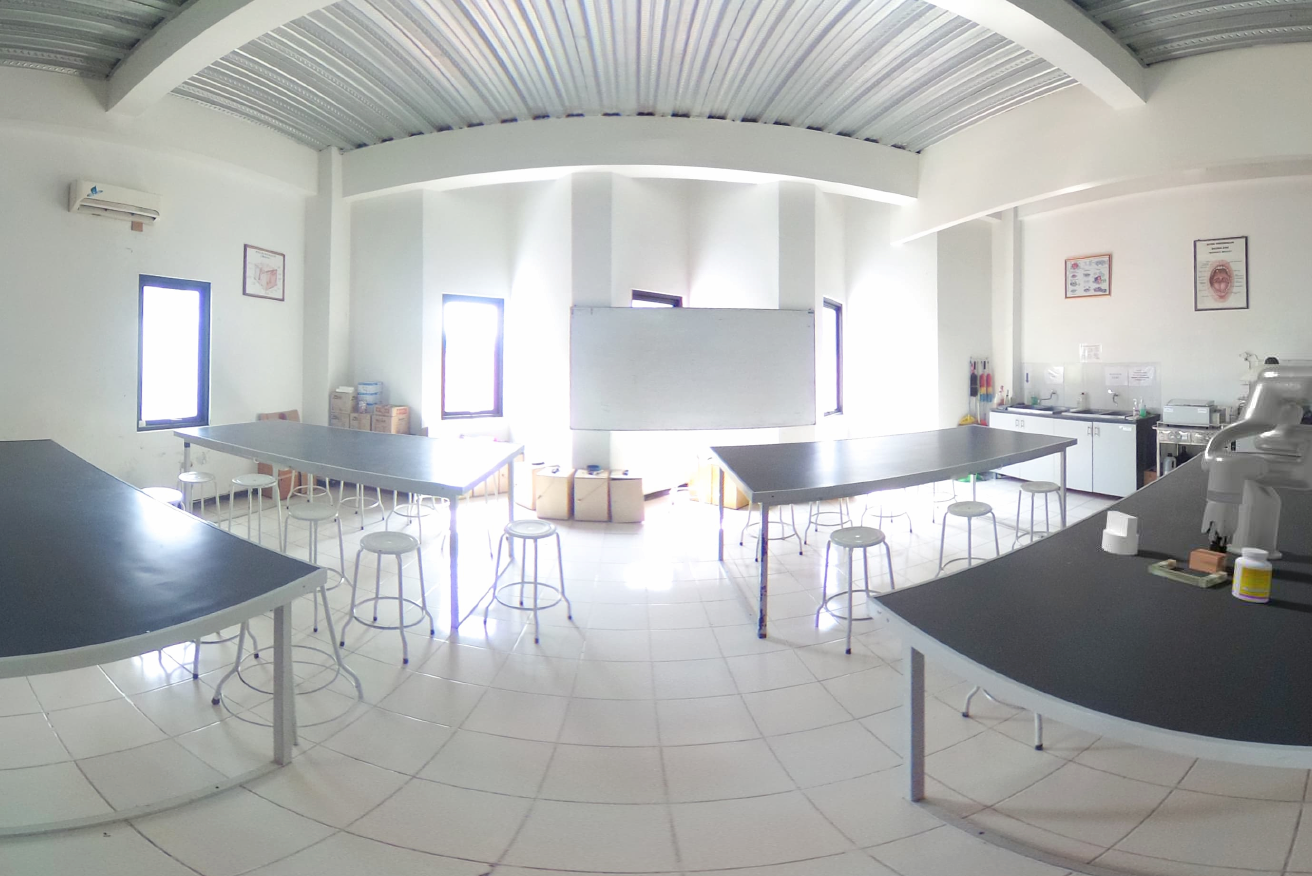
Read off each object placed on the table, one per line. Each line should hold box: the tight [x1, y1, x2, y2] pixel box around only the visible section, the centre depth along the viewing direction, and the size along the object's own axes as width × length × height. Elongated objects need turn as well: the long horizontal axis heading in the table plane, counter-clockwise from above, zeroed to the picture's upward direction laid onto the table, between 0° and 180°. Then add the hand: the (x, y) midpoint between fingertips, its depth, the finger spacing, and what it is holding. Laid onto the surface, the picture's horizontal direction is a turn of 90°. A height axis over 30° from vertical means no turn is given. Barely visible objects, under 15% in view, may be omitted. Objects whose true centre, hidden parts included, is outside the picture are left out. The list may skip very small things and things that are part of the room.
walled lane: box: [1147, 559, 1228, 588], centre depth 164 cm, size 12×13×2 cm
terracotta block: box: [1188, 548, 1228, 575], centre depth 169 cm, size 6×6×5 cm
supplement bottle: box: [1231, 548, 1273, 604], centre depth 148 cm, size 7×7×13 cm
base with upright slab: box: [1101, 510, 1140, 556], centre depth 186 cm, size 9×9×12 cm
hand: (1217, 557), depth 172 cm, fingers closed
